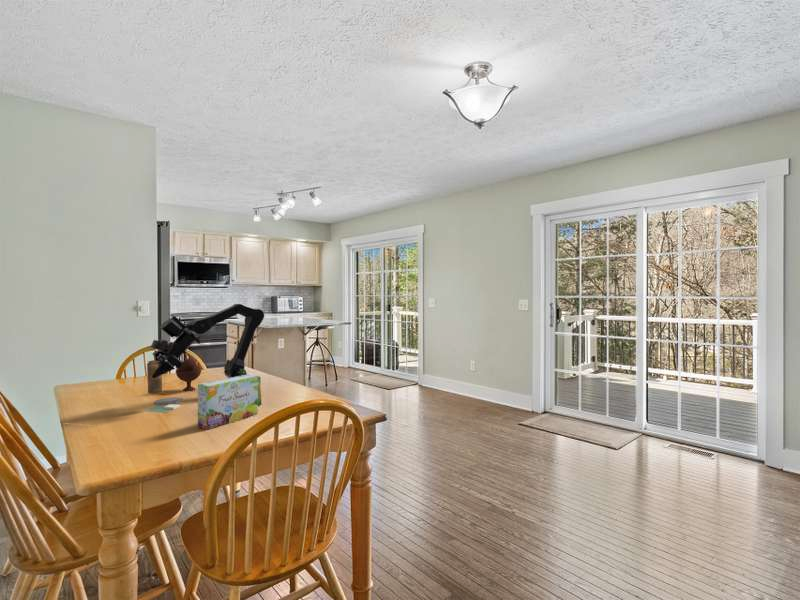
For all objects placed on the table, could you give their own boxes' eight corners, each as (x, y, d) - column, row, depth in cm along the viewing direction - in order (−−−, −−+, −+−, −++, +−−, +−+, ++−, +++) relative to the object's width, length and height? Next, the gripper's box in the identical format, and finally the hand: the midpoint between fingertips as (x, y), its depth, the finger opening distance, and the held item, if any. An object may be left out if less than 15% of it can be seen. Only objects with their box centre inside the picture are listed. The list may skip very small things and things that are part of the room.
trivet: (189, 399, 185) (189, 398, 185) (170, 406, 174) (170, 404, 174) (167, 398, 187) (167, 396, 187) (147, 404, 176) (147, 403, 176)
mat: (181, 407, 172) (181, 404, 172) (166, 413, 164) (166, 410, 164) (159, 406, 174) (159, 403, 174) (143, 412, 166) (143, 408, 166)
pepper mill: (165, 390, 170) (164, 360, 169) (155, 393, 165) (154, 362, 165) (154, 390, 171) (153, 359, 170) (144, 393, 166) (144, 362, 166)
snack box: (207, 430, 144) (206, 385, 144) (197, 428, 147) (196, 383, 147) (259, 414, 162) (258, 374, 162) (249, 412, 165) (248, 373, 165)
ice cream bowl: (206, 387, 206) (205, 356, 206) (192, 393, 195) (192, 360, 195) (185, 387, 207) (184, 356, 207) (170, 393, 196) (170, 359, 196)
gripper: (157, 330, 177) (126, 360, 169) (172, 333, 163) (140, 367, 156) (178, 347, 182) (149, 377, 175) (195, 352, 169) (164, 385, 162)
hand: (150, 376), depth 167 cm, fingers closed on pepper mill, 5 cm apart
